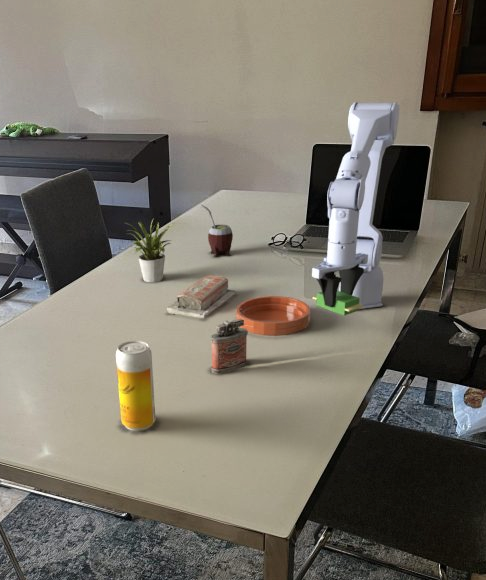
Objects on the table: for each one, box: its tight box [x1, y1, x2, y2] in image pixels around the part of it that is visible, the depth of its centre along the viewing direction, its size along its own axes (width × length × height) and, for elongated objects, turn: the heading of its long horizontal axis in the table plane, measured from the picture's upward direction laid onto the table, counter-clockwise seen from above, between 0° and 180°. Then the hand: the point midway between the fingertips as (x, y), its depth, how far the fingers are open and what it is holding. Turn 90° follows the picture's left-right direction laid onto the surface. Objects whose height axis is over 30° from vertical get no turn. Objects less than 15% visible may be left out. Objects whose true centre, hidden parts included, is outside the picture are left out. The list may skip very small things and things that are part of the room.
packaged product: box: [166, 274, 237, 319], centre depth 179 cm, size 18×5×10 cm
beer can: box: [115, 340, 156, 432], centre depth 128 cm, size 6×6×15 cm
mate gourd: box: [200, 204, 234, 258], centre depth 210 cm, size 8×8×15 cm
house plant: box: [125, 219, 175, 283], centre depth 195 cm, size 14×14×16 cm
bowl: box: [235, 295, 311, 336], centre depth 167 cm, size 16×16×4 cm
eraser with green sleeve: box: [312, 290, 364, 316], centre depth 157 cm, size 4×10×3 cm, turn 34°
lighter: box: [210, 318, 249, 375], centre depth 147 cm, size 8×3×10 cm, turn 117°
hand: (337, 303), depth 157 cm, fingers closed on eraser with green sleeve, 4 cm apart
